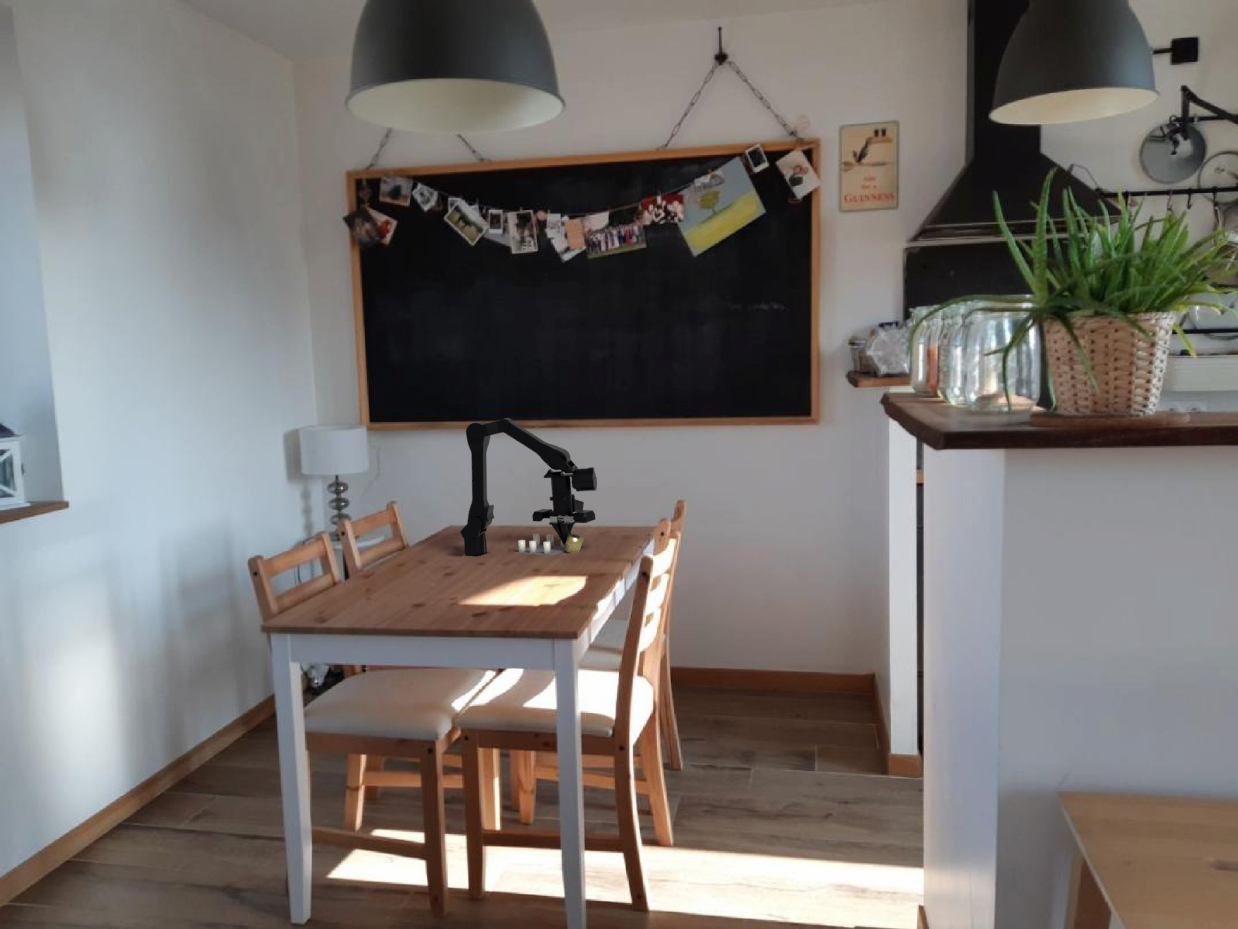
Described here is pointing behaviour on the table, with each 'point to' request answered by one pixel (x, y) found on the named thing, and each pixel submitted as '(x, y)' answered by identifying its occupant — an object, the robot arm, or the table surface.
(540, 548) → the mat
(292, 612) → the table surface
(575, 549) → the knob
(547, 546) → the spacers
